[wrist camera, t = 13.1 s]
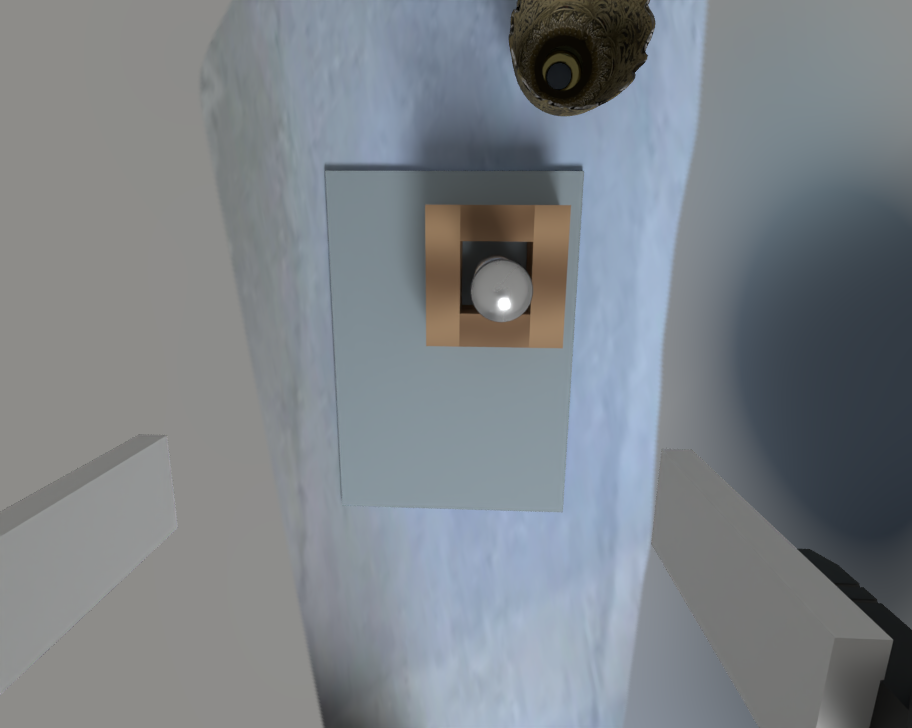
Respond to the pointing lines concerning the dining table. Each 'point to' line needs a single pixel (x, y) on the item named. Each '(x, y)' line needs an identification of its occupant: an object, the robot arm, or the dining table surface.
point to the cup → (578, 49)
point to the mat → (441, 352)
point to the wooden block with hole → (543, 264)
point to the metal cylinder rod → (500, 289)
